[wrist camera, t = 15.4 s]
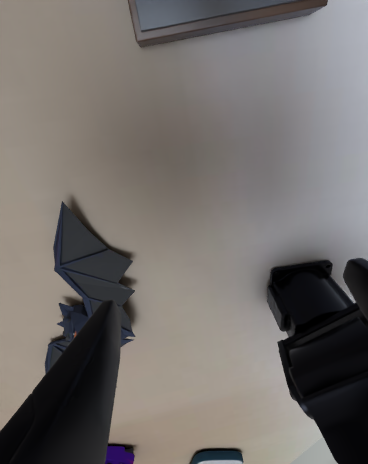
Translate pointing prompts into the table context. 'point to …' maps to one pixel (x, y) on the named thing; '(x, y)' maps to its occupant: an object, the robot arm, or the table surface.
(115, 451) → the handheld gaming console
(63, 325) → the decorative bat
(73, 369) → the robot arm
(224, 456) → the external hard drive
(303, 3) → the plate
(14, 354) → the table surface
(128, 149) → the table surface
